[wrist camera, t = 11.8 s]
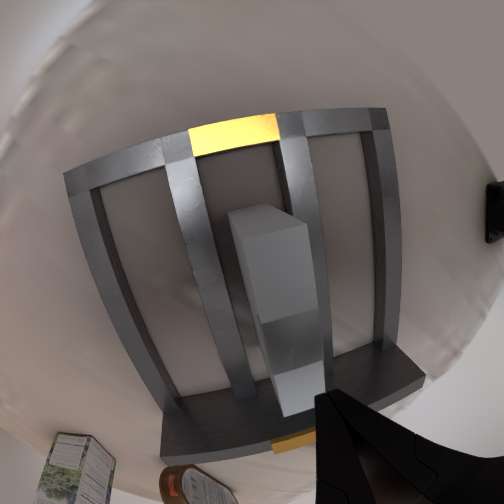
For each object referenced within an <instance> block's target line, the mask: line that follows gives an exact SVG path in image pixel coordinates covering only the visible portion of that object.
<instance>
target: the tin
mask: <svg viewBox="0 0 504 504" xmlns="http://www.w3.org/2000/svg"><path fill="white" fill-rule="evenodd" d="M159 488H160V494H161V497H162V500H163V502H164V504H238V502H237V500H236V498H235V496H234V495H233V494H232V492H231V491H230V490H229V489H228V488H227V487H226V486H225V485H223V484H221V483H220V482H218V481H217V480H215V479H214V478H212V477H210V476H209V475H207V474H206V473H204V472H203V471H201V470H200V469H198V468H197V467H195V466H193V465H191V464H189V465H178V466H174V467H167V468H165V469H164V470H163V471H162V473H161V475H160V479H159Z"/></svg>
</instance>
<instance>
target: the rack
mask: <svg viewBox="0 0 504 504" xmlns="http://www.w3.org/2000/svg"><path fill="white" fill-rule="evenodd" d="M349 133H361V139H362V144H363V150H364V156H365V162H366V169H367V176H368V184H369V192H370V201H371V211H372V222H373V236H374V255H375V324H374V342H373V343H370V344H368V345H366V346H363V347H361V348H358V349H356V350H353V351H351V352H348V353H345V354H343V355H340V356H338V357H335V358H333V345H332V326H331V312H330V299H329V287H328V277H327V267H326V258H325V249H324V241H323V233H322V225H321V218H320V211H319V205H318V198H317V192H316V186H315V180H314V174H313V168H312V163H311V157H310V152H309V147H308V142H307V138H310V137H318V136H327V135H337V134H349ZM268 143H273V147H274V152H275V157H276V162H277V167H278V172H279V177H280V182H281V188H282V193H283V198H284V204H285V209H286V213H287V214H289V215H291V216H293V217H295V218H297V219H298V220H300V221H302V222H304V223H306V224H307V228H308V234H309V241H310V248H311V255H312V262H313V269H314V277H315V285H316V293H317V301H318V306H319V309H320V319H321V329H322V340H323V352H324V360H323V365H324V380H325V393H326V392H327V391H329V390H332V389H334V388H339V389H340V390H342V391H343V392H345V393H347V394H348V395H350V396H352V397H353V398H355V399H356V400H358V401H360V402H361V403H363V404H365V405H366V406H368V407H370V408H371V409H373V410H375V411H376V412H378V411H380V410H382V409H384V408H386V407H388V406H390V405H392V404H393V403H395V402H397V401H399V400H401V399H403V398H405V397H406V396H408V395H410V394H412V393H413V392H415V391H417V390H418V389H420V388H422V387H423V383H424V380H425V377H426V374H425V373H424V372H423V371H422V370H421V369H420V368H419V367H418V366H417V365H416V364H415V363H414V362H413V361H412V360H411V359H410V358H409V357H408V356H407V355H406V354H405V353H404V352H403V351H402V350H401V349H400V348H399V347H398V346H397V345H396V342H397V333H398V324H399V313H400V298H401V276H402V236H401V213H400V199H399V188H398V179H397V170H396V162H395V155H394V149H393V143H392V137H391V131H390V126H389V121H388V116H387V111H386V108H338V109H320V110H308V111H297V112H288V113H279V114H275V113H272V114H265V115H258V116H251V117H245V118H240V119H234V120H229V121H224V122H219V123H214V124H209V125H205V126H200V127H196V128H192V129H188V131H184V132H180V133H176V134H172V135H168V136H165V137H161V138H158V139H154V140H151V141H148V142H145V143H141V144H138V145H135V146H132V147H129V148H126V149H123V150H120V151H117V152H115V153H112V154H109V155H106V156H104V157H101V158H99V159H96V160H93V161H91V162H88V163H86V164H84V165H81V166H79V167H76V168H74V169H72V170H69V171H67V172H65V173H63V175H64V180H65V185H66V189H67V194H68V198H69V202H70V206H71V210H72V214H73V217H74V221H75V224H76V228H77V231H78V235H79V238H80V241H81V244H82V247H83V250H84V253H85V256H86V259H87V262H88V265H89V268H90V270H91V273H92V276H93V278H94V281H95V283H96V286H97V288H98V291H99V293H100V296H101V298H102V301H103V303H104V305H105V308H106V310H107V312H108V314H109V316H110V319H111V321H112V323H113V325H114V327H115V329H116V331H117V333H118V335H119V337H120V339H121V341H122V343H123V345H124V347H125V349H126V351H127V353H128V355H129V357H130V359H131V360H132V362H133V364H134V366H135V368H136V369H137V371H138V373H139V375H140V376H141V378H142V380H143V381H144V383H145V385H146V386H147V388H148V390H149V391H150V393H151V395H152V396H153V398H154V399H155V401H156V402H157V404H158V405H159V407H160V408H161V410H162V411H163V421H162V433H161V447H160V458H161V459H162V460H163V461H164V462H165V463H166V464H167V465H168V466H176V465H189V464H199V463H207V462H214V461H221V460H227V459H233V458H239V457H244V456H249V455H253V454H258V453H262V452H266V451H270V450H273V451H274V454H278V453H282V452H285V451H289V450H292V449H296V448H299V447H302V446H305V445H308V444H311V443H314V442H316V432H315V408H311V409H309V410H306V411H302V412H299V413H296V414H293V415H290V416H286V417H284V416H283V413H282V410H281V407H280V404H279V401H278V399H277V396H276V393H275V390H274V387H273V384H272V381H271V378H269V379H266V380H262V381H258V382H254V381H253V377H252V374H251V371H250V367H249V364H248V361H247V357H246V354H245V350H244V347H243V344H242V340H241V337H240V333H239V330H238V326H237V322H236V319H235V315H234V312H233V308H232V304H231V301H230V297H229V293H228V290H227V286H226V282H225V278H224V275H223V271H222V267H221V263H220V259H219V255H218V251H217V247H216V243H215V239H214V235H213V231H212V227H211V223H210V219H209V215H208V211H207V207H206V202H205V198H204V194H203V189H202V185H201V181H200V176H199V172H198V167H197V163H196V158H200V157H204V156H208V155H213V154H217V153H222V152H226V151H231V150H236V149H241V148H246V147H251V146H257V145H263V144H268ZM162 167H166V172H167V176H168V180H169V185H170V189H171V193H172V197H173V201H174V205H175V209H176V213H177V217H178V221H179V225H180V228H181V232H182V236H183V239H184V243H185V247H186V250H187V254H188V257H189V261H190V264H191V267H192V271H193V274H194V278H195V281H196V284H197V287H198V291H199V294H200V297H201V300H202V303H203V306H204V309H205V313H206V316H207V319H208V322H209V325H210V328H211V331H212V333H213V336H214V339H215V342H216V345H217V348H218V351H219V353H220V356H221V359H222V362H223V364H224V367H225V370H226V373H227V375H228V378H229V381H230V383H231V386H232V388H229V389H224V390H219V391H215V392H210V393H204V394H199V395H193V396H187V397H180V395H179V393H178V391H177V389H176V388H175V386H174V384H173V382H172V380H171V378H170V376H169V375H168V373H167V371H166V369H165V367H164V365H163V363H162V361H161V359H160V357H159V355H158V353H157V351H156V349H155V346H154V344H153V342H152V340H151V338H150V336H149V333H148V331H147V329H146V327H145V324H144V322H143V320H142V318H141V315H140V313H139V310H138V308H137V306H136V303H135V301H134V298H133V296H132V293H131V290H130V288H129V285H128V282H127V280H126V277H125V274H124V271H123V269H122V266H121V263H120V260H119V257H118V254H117V251H116V248H115V245H114V242H113V238H112V235H111V232H110V228H109V225H108V222H107V218H106V214H105V211H104V207H103V203H102V199H101V195H100V191H99V188H100V187H103V186H106V185H108V184H111V183H114V182H117V181H120V180H123V179H126V178H129V177H132V176H135V175H138V174H142V173H145V172H148V171H152V170H155V169H158V168H162Z"/></svg>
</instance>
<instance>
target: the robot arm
mask: <svg viewBox="0 0 504 504" xmlns="http://www.w3.org/2000/svg"><path fill="white" fill-rule="evenodd" d="M501 238H504V181H502V182H497V183H491V184H488V186H487V234H486V242H487V243H488V244H491V243H493V242H495V241H497V240H499V239H501ZM314 408H315V432H316V501H315V504H504V456H500V457H494V458H483V457H477V456H473V455H469V454H466V453H463V452H459V451H456V450H453V449H450V448H447V447H444V446H442V445H439V444H436V443H434V442H432V441H430V440H428V439H426V438H424V437H422V436H420V435H418V434H415V433H414V432H412V431H410V430H408V429H407V428H405V427H403V426H401V425H399V424H397V423H396V422H394V421H392V420H390V419H389V418H387V417H385V416H383V415H382V414H380V413H378V412H376V411H375V410H373V409H371V408H370V407H368V406H366V405H365V404H363V403H361V402H360V401H358V400H356V399H355V398H353V397H352V396H350V395H348V394H347V393H345V392H343V391H342V390H340V389H339V388H334V389H332V390H329V391H327V392H326V393H325V392H324V393H321V394H318V395H315V396H314Z"/></svg>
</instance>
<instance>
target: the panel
mask: <svg viewBox="0 0 504 504" xmlns="http://www.w3.org/2000/svg"><path fill="white" fill-rule="evenodd" d="M227 216H228V220H229V224H230V228H231V233H232V237H233V241H234V245H235V249H236V253H237V258H238V262H239V266H240V270H241V274H242V278H243V282H244V286H245V290H246V294H247V298H248V302H249V306H250V310H251V314H252V318H253V322H254V326H255V330H256V334H257V338H258V342H259V345H260V349H261V352H262V355H263V358H264V361H265V364H266V367H267V370H268V372H269V375H270V378H271V381H272V384H273V387H274V390H275V393H276V396H277V399H278V401H279V404H280V407H281V410H282V413H283V416H284V417H286V416H290V415H293V414H296V413H299V412H302V411H306V410H309V409H311V408H314V396H315V395H318V394H321V393H324V392H325V380H324V365H323V360H324V352H323V340H322V329H321V319H320V309H319V306H318V301H317V293H316V285H315V277H314V269H313V262H312V255H311V248H310V241H309V234H308V228H307V224H306V223H304V222H302V221H300V220H298V219H297V218H295V217H293V216H291V215H289V214H287V213H285V212H283V211H281V210H279V209H277V208H275V207H273V206H271V205H269V204H267V203H262V204H258V205H253V206H249V207H245V208H241V209H237V210H232V211H228V212H227Z"/></svg>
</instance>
